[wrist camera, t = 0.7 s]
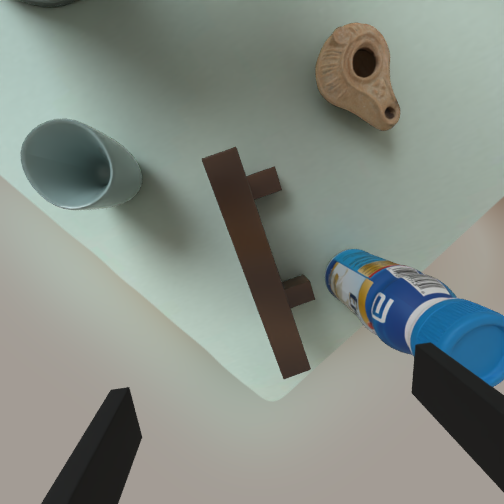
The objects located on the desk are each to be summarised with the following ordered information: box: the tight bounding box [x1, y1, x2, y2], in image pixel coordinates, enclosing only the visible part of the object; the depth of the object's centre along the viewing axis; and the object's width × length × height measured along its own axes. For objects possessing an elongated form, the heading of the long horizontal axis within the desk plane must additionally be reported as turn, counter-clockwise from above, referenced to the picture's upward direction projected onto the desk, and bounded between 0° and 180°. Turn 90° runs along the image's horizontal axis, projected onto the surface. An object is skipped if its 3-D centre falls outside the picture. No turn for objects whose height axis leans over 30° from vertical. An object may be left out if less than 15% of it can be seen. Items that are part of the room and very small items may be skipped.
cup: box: [21, 119, 142, 210], centre depth 26 cm, size 8×8×10 cm
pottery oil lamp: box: [315, 23, 400, 131], centre depth 28 cm, size 9×12×7 cm
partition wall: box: [202, 147, 315, 379], centre depth 28 cm, size 23×8×13 cm, turn 19°
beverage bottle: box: [325, 249, 504, 387], centre depth 27 cm, size 8×8×20 cm
